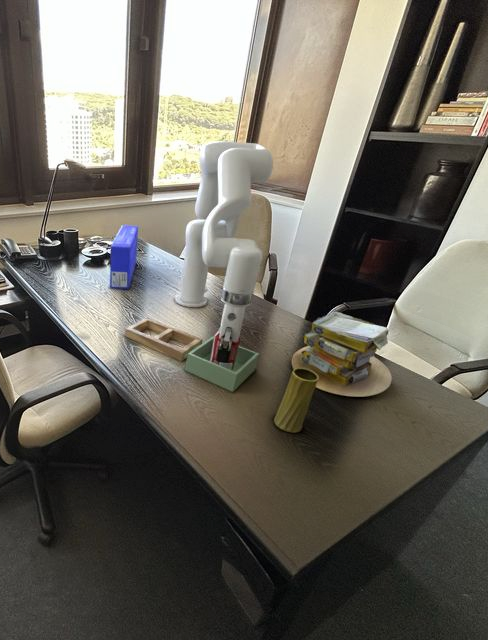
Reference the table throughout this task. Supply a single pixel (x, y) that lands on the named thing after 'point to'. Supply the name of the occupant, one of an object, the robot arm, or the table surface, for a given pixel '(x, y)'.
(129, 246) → the blue box
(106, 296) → the table surface
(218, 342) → the soda can
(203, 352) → the bin
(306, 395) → the vase
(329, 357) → the stacked boxes on plate
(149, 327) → the caddy
